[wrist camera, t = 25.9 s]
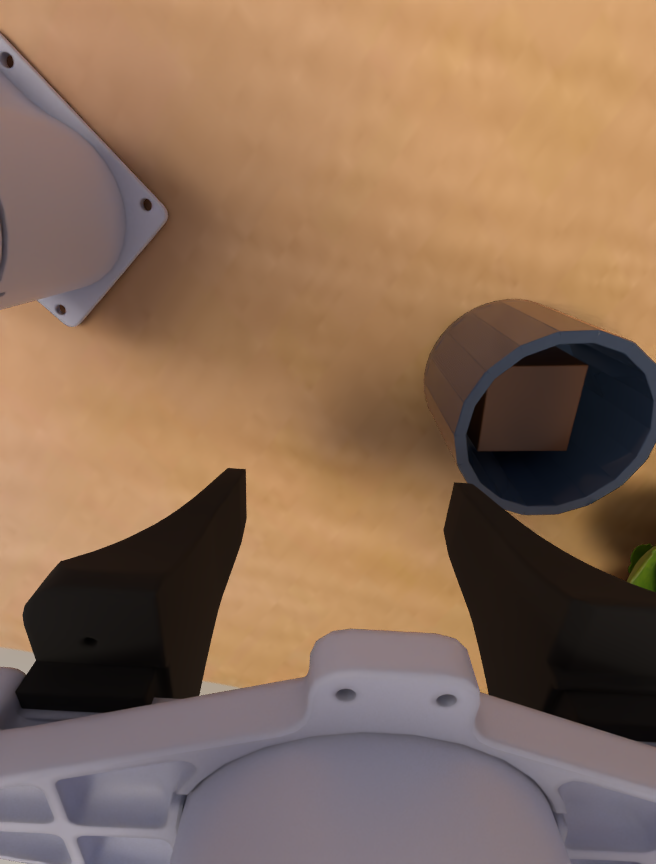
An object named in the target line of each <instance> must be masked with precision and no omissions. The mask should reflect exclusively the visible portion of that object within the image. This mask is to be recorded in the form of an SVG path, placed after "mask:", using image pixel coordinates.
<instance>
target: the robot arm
mask: <svg viewBox="0 0 656 864" xmlns="http://www.w3.org/2000/svg"><path fill="white" fill-rule="evenodd" d="M9 55H11V56H12V58H13V61H14V64H13V67H11V68H9V67H8V65H7V57H8V56H9ZM146 199H149V200H150V202H151V203H152V208H151V210H149V211H147V210H146V209H145V207H144V204H143V203H144V200H146ZM167 220H168V212H167V209H166V208H165V206H164V205H163V204H162V203H161V202H160V201H159V200H158V199H157V198H156V197H155V196H154V194H153V193H152V192H151V191H150V190H149V189H148V188H147V187H146V186H145V185H144V184H143V183H142V182H141V181H140V180H139V179H138V178H137V177H136V175H135V174H134V173H133V172H132V171H131V170H130V169H129V168H128V167H127V166H126V165H125V164H124V163H123V162H122V161H121V160H120V159H119V158H118V156H117V155H116V154H115V153H114V152H113V151H112V150H111V149H110V148H109V147H108V146H107V145H106V144H105V143H104V142H103V141H102V140H101V139H100V137H99V136H98V135H97V134H96V133H95V132H94V131H93V130H92V129H91V128H90V127H89V126H88V125H87V124H86V123H85V122H84V121H83V120H82V118H81V117H80V116H79V115H78V114H77V113H76V112H75V111H74V110H73V109H72V108H71V107H70V106H69V105H68V104H67V103H66V102H65V100H64V99H63V98H62V97H61V96H60V95H59V94H58V93H57V92H56V91H55V90H54V89H53V88H52V87H51V86H50V85H49V84H48V83H47V81H46V80H45V79H44V78H43V77H42V76H41V75H40V74H39V73H38V72H37V71H36V70H35V69H34V68H33V67H32V66H31V65H30V64H29V62H28V61H27V60H26V59H25V58H24V57H23V56H22V55H21V54H20V53H19V52H18V51H17V50H16V49H15V48H14V47H13V46H12V45H11V43H10V42H9V41H8V40H7V39H6V38H5V37H4V36H3V35H2V34H1V33H0V310H2V309H6V308H9V307H13V306H17V305H20V304H24V303H28V302H31V301H35V300H37V301H38V302H40V303H41V304H42V305H43V306H44V307H45V308H46V309H48V310H49V311H50V312H51V313H52V314H53V315H55V316H56V317H57V318H58V319H59V320H60V321H61V322H63V323H64V324H65V325H67V326H70V327H75V326H77V325H79V324H81V323H82V321H83V320H84V319H85V318H86V317H87V316H88V314H89V313H90V312H91V311H92V310H93V308H94V307H95V306H96V305H97V304H98V303H99V301H100V300H101V299H102V298H103V297H104V295H105V294H106V293H107V292H108V291H109V289H110V288H111V287H112V286H113V285H114V284H115V282H116V281H117V280H118V279H119V278H120V276H121V275H122V274H123V273H124V272H125V271H126V269H127V268H128V267H129V266H130V265H131V263H132V262H133V261H134V260H135V259H136V258H137V256H138V255H139V254H140V253H141V252H142V250H143V249H144V248H145V247H146V246H147V245H148V243H149V242H150V241H151V240H152V239H153V237H154V236H155V235H156V234H157V233H158V232H159V230H160V229H161V228H162V227H163V226H164V224H165V223H166V222H167ZM60 305H62V306H64V308H65V309H66V313H63V312H62V311H61V310H60ZM246 518H247V516H246V469H234V468H227V469H226V470H225V471H224V472H223V473H222V474H220V475H219V476H218V477H217V478H216V479H215V480H214V481H213V482H212V483H210V484H209V485H208V486H207V487H206V488H205V489H204V490H202V491H201V492H200V493H199V494H198V495H196V496H195V497H194V498H193V499H192V500H190V501H189V502H188V503H186V504H185V505H184V506H182V507H181V508H180V509H178V510H177V511H175V512H174V513H172V514H171V515H169V516H168V517H166V518H165V519H163V520H161V521H160V522H158V523H156V524H154V525H153V526H151V527H149V528H147V529H145V530H143V531H141V532H139V533H137V534H135V535H133V536H131V537H129V538H127V539H124V540H122V541H120V542H117V543H115V544H112V545H110V546H107V547H104V548H102V549H99V550H96V551H93V552H90V553H87V554H84V555H80V556H77V557H74V558H71V559H67V560H64V561H61V562H60V563H59V564H58V565H57V566H56V567H55V568H54V569H53V570H52V572H51V573H50V574H49V575H48V576H47V578H46V579H45V580H44V582H43V583H42V584H41V585H40V587H39V588H38V589H37V591H36V592H35V593H34V594H33V596H32V597H31V598H30V599H29V601H28V602H27V603H26V605H25V607H24V611H23V621H24V626H25V629H26V632H27V635H28V638H29V641H30V644H31V647H32V650H33V653H34V655H35V659H36V662H35V663H34V664H33V666H32V667H31V669H30V670H29V672H28V673H27V675H26V674H25V673H24V672H22V671H20V670H19V669H15V668H10V667H0V859H4V860H9V861H15V862H21V863H27V864H656V592H653V591H651V590H648V589H645V588H642V587H639V586H637V585H634V584H631V583H629V582H626V581H624V580H622V579H619V578H617V577H615V576H612V575H610V574H608V573H605V572H603V571H601V570H599V569H597V568H595V567H593V566H591V565H589V564H587V563H585V562H583V561H581V560H579V559H577V558H575V557H573V556H571V555H570V554H568V553H566V552H564V551H563V550H561V549H559V548H558V547H556V546H554V545H553V544H551V543H550V542H548V541H546V540H545V539H543V538H542V537H540V536H539V535H537V534H536V533H534V532H533V531H532V530H530V529H529V528H527V527H526V526H525V525H523V524H522V523H521V522H519V521H518V520H517V519H515V518H514V517H513V516H512V515H510V514H509V513H508V512H507V511H505V510H504V509H503V508H502V507H500V506H499V505H498V504H497V503H496V502H494V501H493V500H492V499H491V498H490V497H488V496H487V495H486V494H485V493H484V492H482V491H481V490H480V489H479V488H477V487H476V486H475V485H473V484H470V483H454V486H453V491H452V495H451V500H450V504H449V508H448V513H447V517H446V521H445V526H444V535H445V540H446V545H447V550H448V554H449V558H450V561H451V563H452V566H453V569H454V572H455V575H456V577H457V580H458V583H459V585H460V588H461V591H462V594H463V596H464V599H465V602H466V604H467V607H468V610H469V613H470V616H471V619H472V622H473V626H474V630H475V634H476V638H477V642H478V646H479V651H480V655H481V660H482V664H483V669H484V673H485V678H486V683H487V688H488V693H489V695H487V694H484V693H481V692H480V690H479V687H478V684H477V681H476V677H475V674H474V671H473V668H472V664H471V661H470V658H469V655H468V651H467V649H466V648H465V647H464V646H463V645H462V644H461V643H460V642H458V641H457V640H456V639H455V638H451V637H447V636H444V635H440V634H436V633H418V632H401V631H383V630H366V629H345V630H337V631H332V632H330V633H329V634H327V635H325V636H324V637H322V638H320V639H319V640H317V641H316V643H315V645H314V647H313V649H312V651H311V653H310V666H309V671H308V674H307V676H305V677H302V678H296V679H290V680H285V681H279V682H274V683H268V684H263V685H257V686H251V687H246V688H240V689H235V690H229V691H224V692H218V693H212V694H208V695H201V696H199V694H200V689H201V684H202V679H203V675H204V670H205V665H206V661H207V656H208V652H209V647H210V643H211V638H212V634H213V630H214V626H215V622H216V617H217V613H218V609H219V606H220V602H221V599H222V596H223V593H224V590H225V588H226V585H227V582H228V579H229V576H230V574H231V571H232V568H233V565H234V562H235V560H236V557H237V554H238V551H239V548H240V545H241V542H242V537H243V533H244V528H245V523H246Z"/></svg>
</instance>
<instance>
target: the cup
mask: <svg viewBox="0 0 656 864" xmlns="http://www.w3.org/2000/svg"><path fill="white" fill-rule="evenodd" d="M554 346H556V347H558V348H559V349H561V350H563V351H565V352H566V353H568V354H570V355H572V356H573V357H575V358H577V359H579V360H580V361H582V362H584V363H585V364H587V365H588V370H587V373H586V377H585V381H584V385H583V389H582V393H581V397H580V401H579V405H578V409H577V413H576V416H575V420H574V424H573V428H572V432H571V436H570V440H569V444H568V448H567V450H566V451H485V452H478V451H477V450H476V448H475V447H474V445H473V444H472V442H471V440H470V439H469V437H468V435H467V430H468V427H469V424H470V421H471V417H472V414H473V411H474V408H475V405H476V404H477V403H478V401H479V400H480V399H481V397H482V396H483V394H484V393H485V392H486V390H487V389H488V388H489V386H490V385H491V384H492V382H493V381H494V380H495V379H496V378H497V377H498V376H500V375H501V374H502V373H504V372H505V371H506V370H508V369H509V368H510V367H512V366H513V365H514V364H516V363H517V362H518V361H520V360H521V359H522V358H524V357H526V356H529V355H531V354H534V353H537V352H540V351H543V350H545V349H548V348H551V347H554ZM424 392H425V397H426V401H427V405H428V408H429V410H430V412H431V414H432V416H433V418H434V420H435V422H436V424H437V426H438V428H439V430H440V432H441V434H442V436H443V438H444V440H445V442H446V444H447V446H448V448H449V450H450V452H451V454H452V456H453V458H454V460H455V462H456V464H457V466H458V468H459V470H460V471H461V473H462V475H463V477H464V478H465V480H466V482H467V483H470V484H473V485H475V486H476V487H477V488H479V489H480V490H481V491H482V492H484V493H485V494H486V495H487V496H488V497H490V498H491V499H492V500H493V501H494V502H496V503H497V504H498V505H499V506H500V507H502V508H503V509H504V510H507V511H511V512H514V513H518V514H521V515H555V514H560V513H564V512H567V511H570V510H574V509H577V508H581V507H584V506H587V505H590V504H592V503H594V502H595V501H597V500H599V499H600V498H602V497H604V496H605V495H607V494H609V493H610V492H612V491H614V490H615V489H617V488H619V487H620V486H622V485H623V484H624V483H625V482H626V481H627V480H628V479H629V478H630V477H631V476H632V475H633V474H634V473H635V472H636V471H637V470H638V469H639V468H640V467H641V466H642V465H643V464H644V463H645V462H646V460H647V459H648V457H649V455H650V453H651V451H652V449H653V447H654V445H655V443H656V363H655V362H654V361H653V360H652V359H651V358H650V357H649V356H648V355H647V354H646V353H645V352H644V351H643V350H642V349H641V348H640V347H639V346H638V345H637V344H636V343H634V342H633V341H631V340H628V339H626V338H623V337H621V336H618V335H616V334H613V333H611V332H609V331H606V330H604V329H601V328H599V327H596V326H594V325H591V324H589V323H587V322H584V321H582V320H579V319H577V318H574V317H572V316H569V315H567V314H565V313H562V312H560V311H557V310H555V309H552V308H549V307H546V306H543V305H541V304H539V303H535V302H532V301H528V300H520V299H506V300H499V301H494V302H490V303H487V304H484V305H481V306H479V307H477V308H474V309H473V310H471V311H469V312H467V313H465V314H464V315H463V316H461V317H460V318H458V319H457V320H456V321H455V322H454V323H452V324H451V325H450V326H449V327H448V328H447V329H446V330H445V332H444V333H443V334H442V335H441V336H440V338H439V339H438V341H437V342H436V344H435V345H434V347H433V349H432V351H431V353H430V356H429V358H428V361H427V364H426V369H425V374H424Z"/></svg>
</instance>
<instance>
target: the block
mask: <svg viewBox="0 0 656 864" xmlns="http://www.w3.org/2000/svg"><path fill="white" fill-rule="evenodd" d="M587 370H588V365H587V364H585V363H584V362H582V361H580V360H579V359H577V358H575V357H573V356H572V355H570V354H568V353H566V352H565V351H563V350H561V349H559V348H558V347H556V346H554V347H551V348H548V349H545V350H543V351H540V352H537V353H534V354H531V355H529V356H526V357H524V358H522V359H521V360H520V361H518V362H517V363H516V364H514V365H513V366H512V367H510V368H509V369H508V370H506V371H505V372H504V373H502V374H501V375H500V376H498V377H497V378H496V379H495V380H494V381H493V382H492V384H491V385H490V386H489V388H488V389H487V390H486V392H485V393H484V394H483V396H482V397H481V399H480V400H479V401H478V403H477V404H476V405H475V408H474V411H473V414H472V417H471V421H470V424H469V427H468V430H467V435H468V437H469V439H470V440H471V442H472V444H473V445H474V447H475V448H476V450H477V451H478V452H485V451H566V450H567V448H568V444H569V440H570V436H571V432H572V428H573V424H574V420H575V416H576V413H577V409H578V405H579V401H580V397H581V393H582V389H583V385H584V381H585V377H586V373H587Z"/></svg>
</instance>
